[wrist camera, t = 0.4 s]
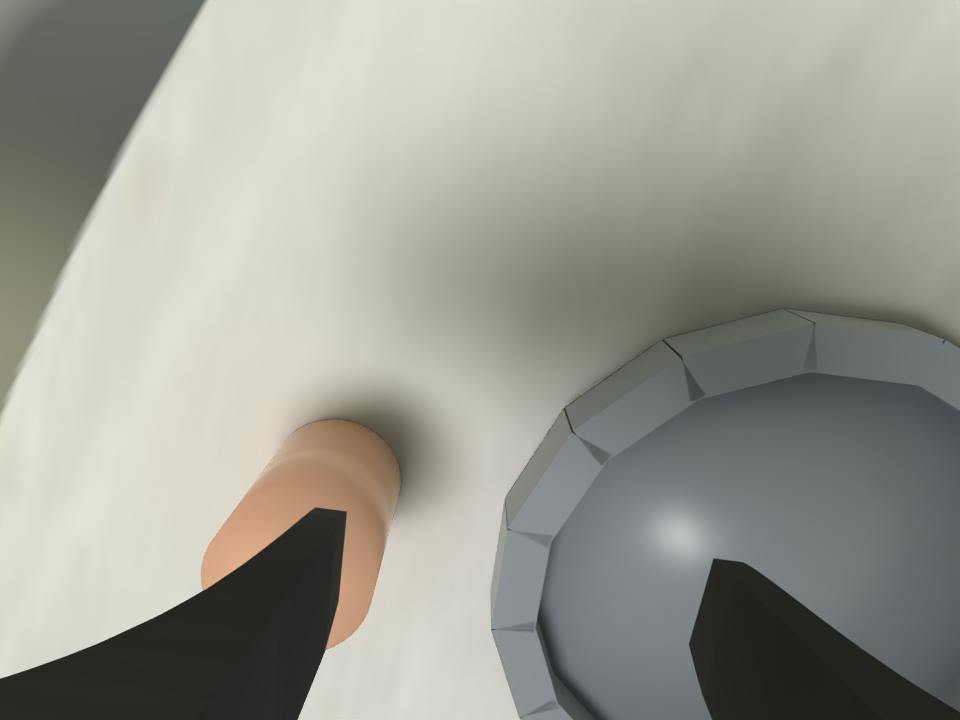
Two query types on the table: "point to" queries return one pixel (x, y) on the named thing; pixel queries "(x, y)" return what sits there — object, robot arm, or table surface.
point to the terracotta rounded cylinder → (323, 484)
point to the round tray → (735, 511)
